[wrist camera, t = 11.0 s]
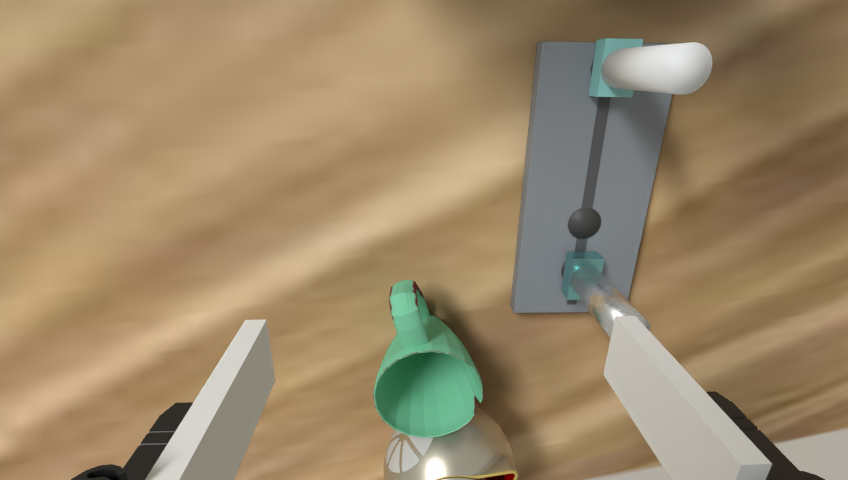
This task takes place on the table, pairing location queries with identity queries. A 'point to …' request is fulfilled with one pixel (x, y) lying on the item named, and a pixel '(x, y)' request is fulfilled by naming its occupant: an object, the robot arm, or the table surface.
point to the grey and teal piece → (594, 158)
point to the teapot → (453, 454)
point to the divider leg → (595, 289)
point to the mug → (424, 371)
